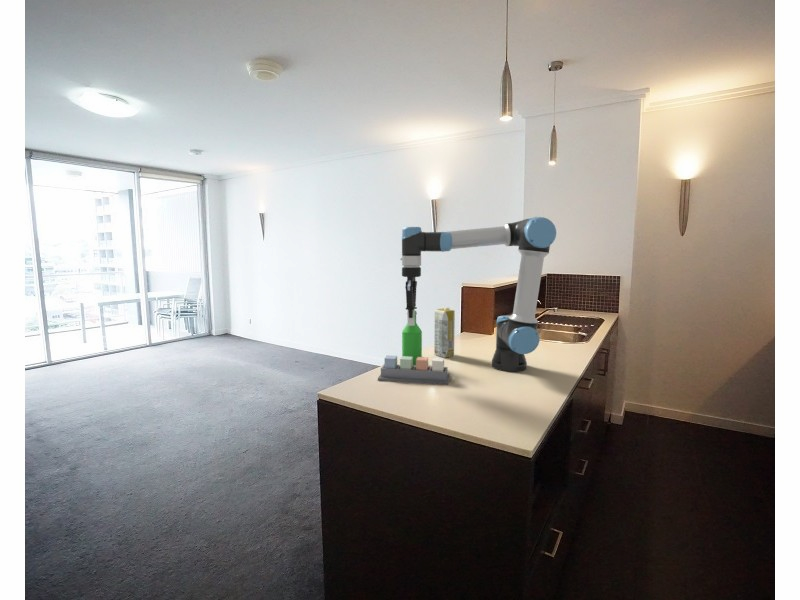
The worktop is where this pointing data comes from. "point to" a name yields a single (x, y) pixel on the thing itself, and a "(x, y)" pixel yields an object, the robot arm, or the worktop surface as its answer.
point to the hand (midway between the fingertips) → (411, 325)
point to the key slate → (390, 362)
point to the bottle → (412, 341)
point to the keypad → (414, 375)
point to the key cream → (438, 364)
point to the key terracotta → (422, 363)
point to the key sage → (406, 362)
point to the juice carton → (444, 332)
